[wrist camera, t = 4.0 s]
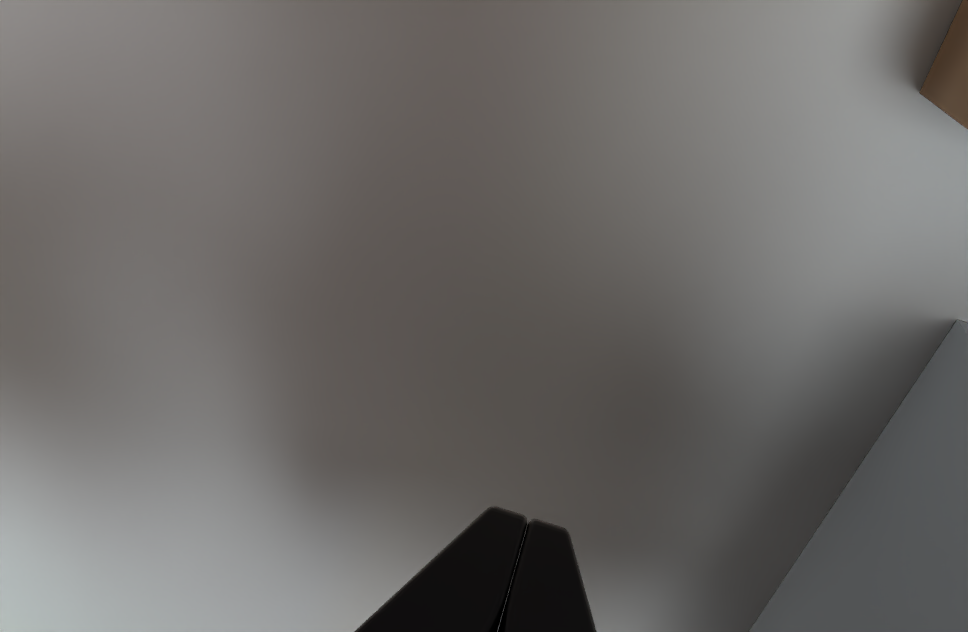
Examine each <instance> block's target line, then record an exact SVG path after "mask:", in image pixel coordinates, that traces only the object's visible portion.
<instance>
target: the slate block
mask: <svg viewBox="0 0 968 632" xmlns="http://www.w3.org/2000/svg"><path fill="white" fill-rule="evenodd" d="M749 632H968V323H967V322H964V321H961V320H958V319H957V321H956V322H955V324H954V325H953V327H952V328H951V330H950V331H949V332H948V334H947V335H946V337H945V338H944V340H943V341H942V343H941V344H940V346H939V347H938V349H937V350H936V352H935V353H934V355H933V356H932V358H931V359H930V361H929V362H928V364H927V365H926V367H925V368H924V370H923V371H922V373H921V374H920V376H919V377H918V379H917V380H916V382H915V383H914V385H913V386H912V388H911V389H910V391H909V392H908V394H907V395H906V397H905V398H904V400H903V401H902V403H901V404H900V406H899V407H898V409H897V410H896V412H895V413H894V415H893V416H892V418H891V419H890V421H889V422H888V424H887V425H886V427H885V428H884V430H883V431H882V433H881V434H880V436H879V437H878V439H877V440H876V442H875V443H874V445H873V446H872V448H871V449H870V451H869V452H868V454H867V455H866V457H865V458H864V460H863V461H862V463H861V464H860V466H859V467H858V469H857V470H856V472H855V473H854V475H853V476H852V478H851V479H850V481H849V482H848V484H847V485H846V487H845V488H844V490H843V491H842V493H841V494H840V496H839V497H838V499H837V500H836V502H835V503H834V505H833V506H832V508H831V509H830V511H829V512H828V514H827V515H826V517H825V518H824V520H823V521H822V523H821V524H820V526H819V527H818V529H817V530H816V532H815V533H814V535H813V536H812V538H811V539H810V541H809V542H808V544H807V545H806V547H805V548H804V550H803V551H802V553H801V554H800V556H799V557H798V559H797V560H796V562H795V563H794V565H793V566H792V568H791V569H790V571H789V572H788V574H787V575H786V577H785V578H784V580H783V581H782V583H781V584H780V586H779V587H778V589H777V590H776V592H775V593H774V595H773V596H772V598H771V599H770V601H769V602H768V604H767V605H766V607H765V608H764V610H763V611H762V613H761V614H760V616H759V617H758V619H757V620H756V622H755V623H754V625H753V626H752V628H751V629H750V631H749Z"/></svg>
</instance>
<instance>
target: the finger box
mask: <svg viewBox="0 0 968 632" xmlns="http://www.w3.org/2000/svg"><path fill="white" fill-rule="evenodd" d="M919 93H920V94H921V95H923V96H924V97H925V98H927V99H928V100H929V101H931V102H932V103H933V104H935V105H936V106H937V107H939V108H940V109H941V110H943V111H944V112H945V113H946V114H948V115H949V116H950V117H952V118H953V119H954V120H956V121H957V122H958V123H960V124H961V125H962V126H964V127H965V128H966V129H968V0H962V2H961V5H960V7H959V9H958V11H957V13H956V15H955V17H954V20H953V22H952V24H951V26H950V28H949V30H948V32H947V35H946V37H945V39H944V41H943V43H942V45H941V47H940V50H939V52H938V54H937V56H936V58H935V60H934V62H933V65H932V67H931V69H930V71H929V73H928V75H927V77H926V80H925V82H924V84H923V86H922V88H921V90H920V92H919Z"/></svg>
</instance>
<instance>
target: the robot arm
mask: <svg viewBox="0 0 968 632" xmlns="http://www.w3.org/2000/svg"><path fill="white" fill-rule="evenodd" d="M526 527H527V529H526ZM525 530H526V532H525ZM524 534H525V536H524ZM523 538H524V540H523ZM522 541H523V543H522ZM521 545H522V547H521ZM520 548H521V550H520ZM519 552H520V554H519ZM518 556H519V557H518ZM517 559H518V561H517ZM516 563H517V565H516ZM515 566H516V568H515ZM514 570H515V572H514ZM513 573H514V575H513ZM512 577H513V579H512ZM511 581H512V582H511ZM510 584H511V586H510ZM509 588H510V590H509ZM508 591H509V593H508ZM507 595H508V597H507ZM506 598H507V600H506ZM505 602H506V604H505ZM504 606H505V607H504ZM503 609H504V611H503ZM502 613H503V615H502ZM501 616H502V618H501ZM500 620H501V622H500ZM499 623H500V625H499ZM498 627H499V629H498ZM497 631H498V632H596V628H595V624H594V621H593V617H592V613H591V610H590V606H589V602H588V599H587V595H586V592H585V588H584V584H583V581H582V577H581V573H580V570H579V566H578V563H577V559H576V555H575V552H574V548H573V544H572V541H571V537H570V535H569V533H568V531H567V530H566V529H565V528H563V527H560V526H557V525H553V524H550V523H547V522H544V521H541V520H538V519H533V520H531V521H529V523H528V525H527V518H526V517H525V516H524V515H522V514H518V513H515V512H512V511H509V510H506V509H502V508H499V507H495V506H493V507H490V508H488V509H487V510H485V511H484V512H483V513H482V514H481V515H480V516H479V517H478V518H477V519H476V520H475V521H473V522H472V523H471V524H470V525H469V526H468V527H467V528H466V529H465V530H464V531H463V532H462V533H460V534H459V535H458V536H457V537H456V538H455V539H454V540H453V541H452V542H451V543H450V544H449V545H447V546H446V547H445V548H444V549H443V550H442V551H441V552H440V553H439V554H438V555H437V556H436V557H434V558H433V559H432V560H431V561H430V562H429V563H428V564H427V565H426V566H425V567H424V568H422V569H421V570H420V571H419V572H418V573H417V574H416V575H415V576H414V577H413V578H412V579H411V580H409V581H408V582H407V583H406V584H405V585H404V586H403V587H402V588H401V589H400V590H399V591H398V592H396V593H395V594H394V595H393V596H392V597H391V598H390V599H389V600H388V601H387V602H386V603H385V604H383V605H382V606H381V607H380V608H379V609H378V610H377V611H376V612H375V613H374V614H373V615H372V616H370V617H369V618H368V619H367V620H366V621H365V622H364V623H363V624H362V625H361V626H360V627H359V628H357V629H356V630H355V631H354V632H497Z"/></svg>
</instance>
